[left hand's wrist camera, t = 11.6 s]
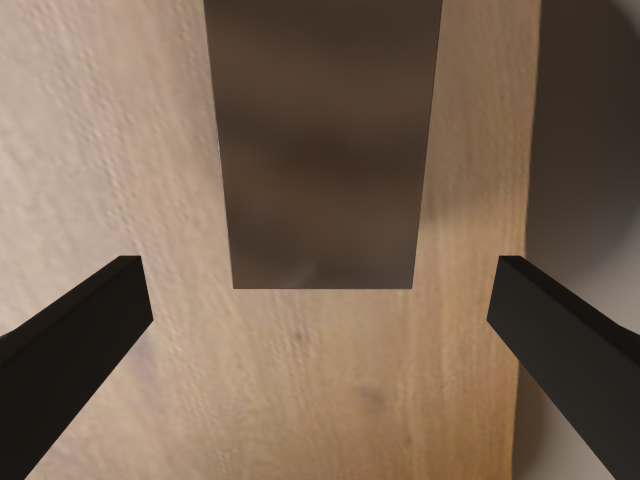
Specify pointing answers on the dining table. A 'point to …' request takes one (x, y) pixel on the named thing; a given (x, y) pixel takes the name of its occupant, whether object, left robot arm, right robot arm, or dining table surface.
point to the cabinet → (322, 137)
